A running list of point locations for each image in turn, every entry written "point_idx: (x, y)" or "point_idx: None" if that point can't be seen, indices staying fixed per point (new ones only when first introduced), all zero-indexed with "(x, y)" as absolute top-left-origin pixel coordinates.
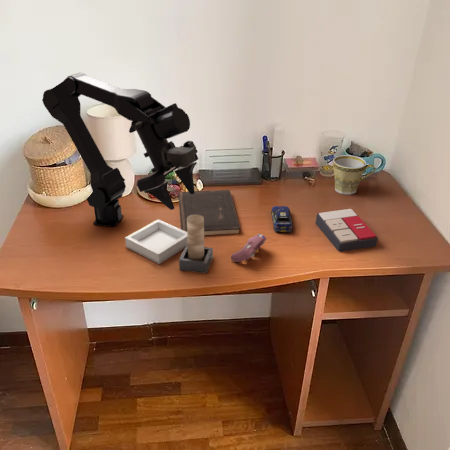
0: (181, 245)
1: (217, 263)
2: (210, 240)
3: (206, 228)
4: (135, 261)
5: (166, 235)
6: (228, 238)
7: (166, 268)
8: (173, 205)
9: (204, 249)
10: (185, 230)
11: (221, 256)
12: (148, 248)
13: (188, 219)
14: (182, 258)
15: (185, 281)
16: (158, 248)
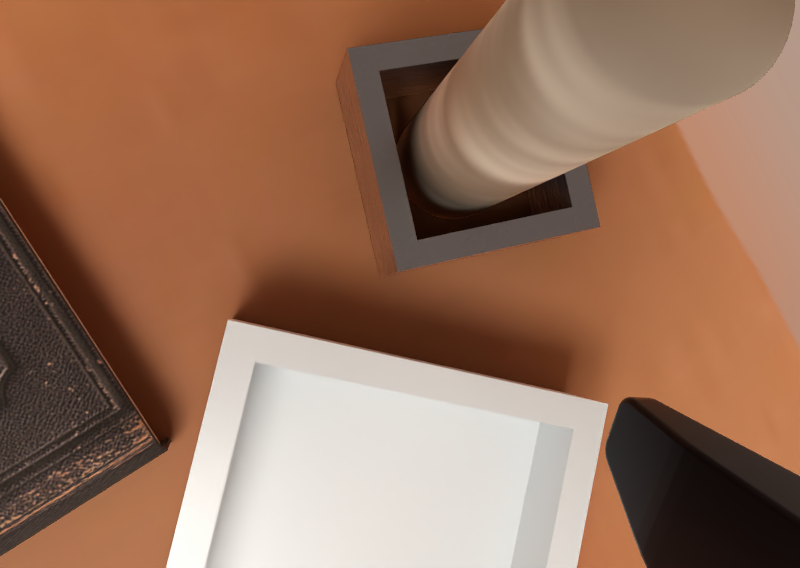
0: (349, 345)
1: (382, 28)
2: (116, 198)
3: (9, 269)
4: (603, 555)
5: (237, 556)
6: (14, 69)
7: (579, 322)
8: (662, 420)
9: (385, 111)
10: (135, 429)
11: (290, 32)
12: (578, 519)
13: (746, 60)
14: (574, 209)
15: (637, 145)
16: (432, 498)
